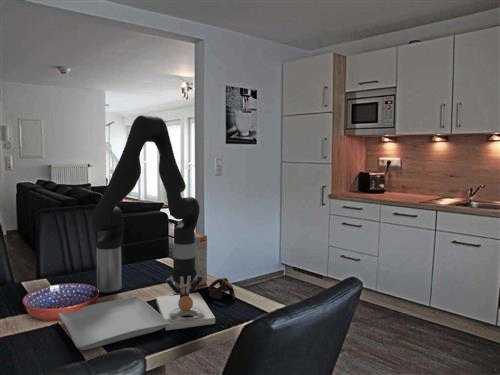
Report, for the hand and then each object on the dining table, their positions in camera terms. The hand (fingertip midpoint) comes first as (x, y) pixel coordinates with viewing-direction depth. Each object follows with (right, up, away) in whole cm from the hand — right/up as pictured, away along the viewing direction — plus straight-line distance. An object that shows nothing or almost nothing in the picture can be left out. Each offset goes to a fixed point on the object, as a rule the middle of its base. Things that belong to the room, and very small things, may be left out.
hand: (184, 303), depth 139 cm
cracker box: (-3, 0, +32) cm, 32 cm away
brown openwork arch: (+12, -2, +16) cm, 20 cm away
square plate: (-21, -4, -12) cm, 24 cm away
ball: (+1, +1, -4) cm, 4 cm away
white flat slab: (0, -3, 0) cm, 3 cm away
